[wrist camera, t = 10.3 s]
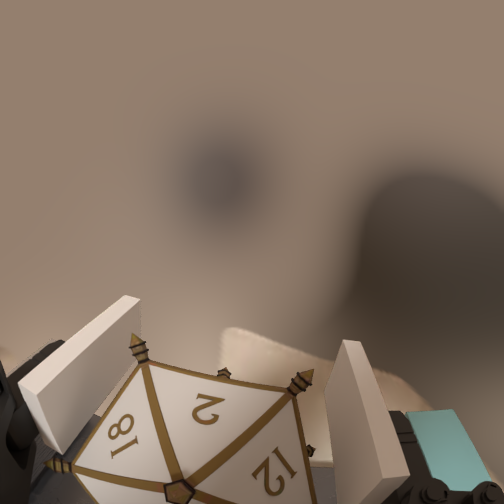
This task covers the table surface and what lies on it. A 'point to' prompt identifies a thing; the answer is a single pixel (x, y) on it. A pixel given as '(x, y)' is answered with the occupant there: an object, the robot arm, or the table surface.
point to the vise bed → (77, 499)
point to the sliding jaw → (448, 449)
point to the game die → (195, 441)
